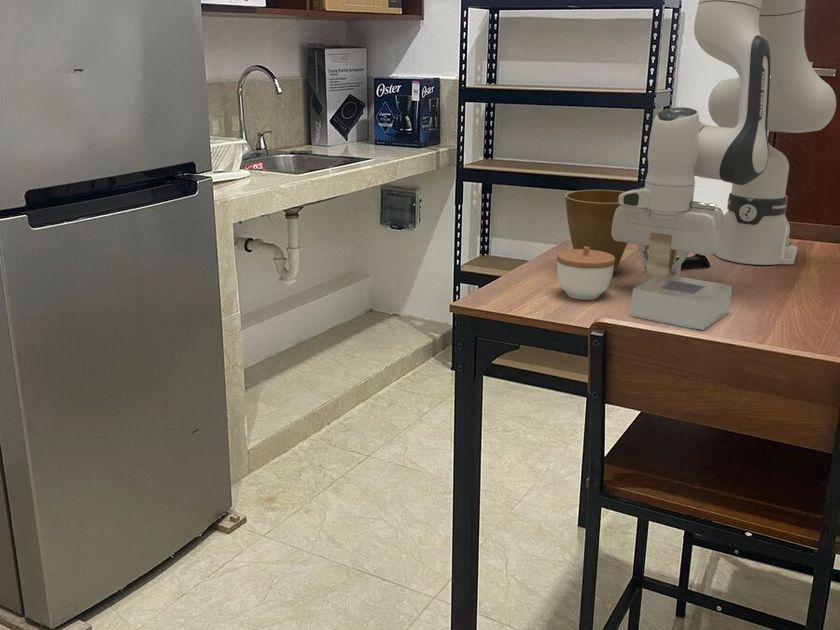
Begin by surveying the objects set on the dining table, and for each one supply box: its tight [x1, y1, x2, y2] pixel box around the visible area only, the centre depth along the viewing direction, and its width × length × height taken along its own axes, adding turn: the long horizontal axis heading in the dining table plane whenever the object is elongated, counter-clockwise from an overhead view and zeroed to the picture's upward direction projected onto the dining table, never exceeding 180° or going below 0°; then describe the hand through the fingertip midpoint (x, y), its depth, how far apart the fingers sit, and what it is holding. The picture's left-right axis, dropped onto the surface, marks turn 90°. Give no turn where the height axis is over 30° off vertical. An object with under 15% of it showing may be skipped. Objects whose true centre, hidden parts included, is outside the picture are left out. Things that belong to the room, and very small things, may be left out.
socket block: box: [630, 274, 733, 331], centre depth 150 cm, size 13×13×5 cm
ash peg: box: [645, 233, 678, 282], centre depth 161 cm, size 4×4×12 cm
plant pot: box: [564, 189, 628, 274], centre depth 176 cm, size 15×15×16 cm
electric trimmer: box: [676, 253, 711, 270], centre depth 180 cm, size 4×16×3 cm, turn 112°
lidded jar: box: [556, 247, 615, 301], centre depth 160 cm, size 11×11×9 cm
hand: (661, 270), depth 161 cm, fingers closed on ash peg, 4 cm apart
